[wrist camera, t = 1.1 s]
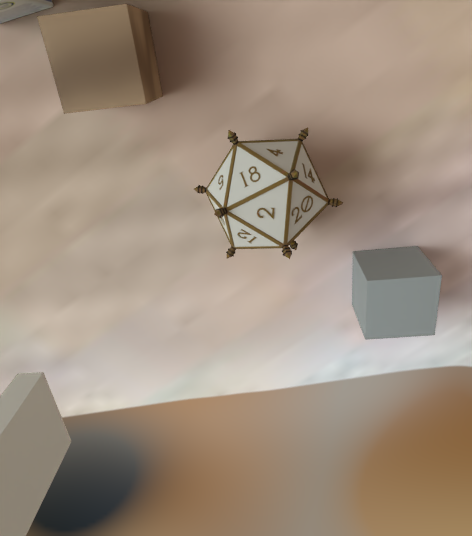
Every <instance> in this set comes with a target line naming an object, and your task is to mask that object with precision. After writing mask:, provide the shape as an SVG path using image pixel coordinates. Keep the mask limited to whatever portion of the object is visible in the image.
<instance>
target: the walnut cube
mask: <svg viewBox="0 0 472 536" xmlns="http://www.w3.org/2000/svg"><path fill="white" fill-rule="evenodd" d="M37 19H38V22H39V26H40V29H41V33H42V36H43V40H44V44H45V47H46V51H47V54H48V58H49V61H50V65H51V69H52V72H53V76H54V79H55V83H56V86H57V90H58V93H59V97H60V101H61V104H62V108H63V111H64V114H65V113H73V112H82V111H90V110H99V109H107V108H115V107H124V106H132V105H141V104H147V103H149V102H151V101H153V100H156V99H158V98H160V97H162V96H163V95H162V89H161V83H160V78H159V72H158V66H157V61H156V55H155V50H154V44H153V38H152V33H151V27H150V21H149V16H148V12H147V11H144V10H141V9H139V8H136V7H133V6H131V5H128V4H121V5H114V6H107V7H100V8H93V9H86V10H79V11H72V12H65V13H58V14H51V15H43V16H37Z"/></svg>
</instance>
